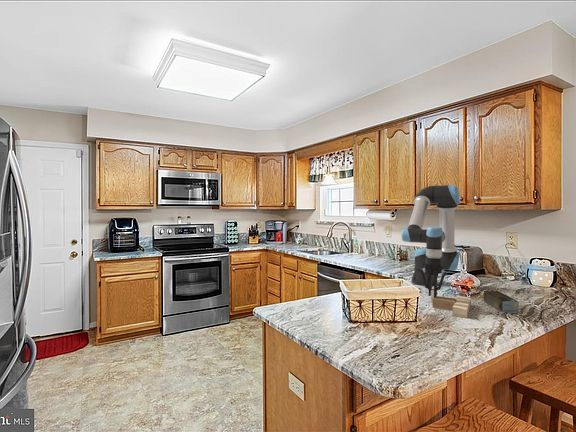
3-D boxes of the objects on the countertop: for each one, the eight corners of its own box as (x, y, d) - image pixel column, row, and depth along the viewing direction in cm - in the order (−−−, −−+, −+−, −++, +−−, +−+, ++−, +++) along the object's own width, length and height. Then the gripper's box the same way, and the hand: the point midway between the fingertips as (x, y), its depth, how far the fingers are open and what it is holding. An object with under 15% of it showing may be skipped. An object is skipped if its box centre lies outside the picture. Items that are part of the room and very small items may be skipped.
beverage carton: (501, 313, 163) (502, 299, 162) (482, 301, 182) (482, 289, 182) (519, 313, 162) (519, 300, 162) (497, 302, 181) (498, 290, 181)
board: (457, 303, 178) (458, 295, 177) (470, 305, 174) (470, 297, 174) (452, 315, 157) (452, 307, 157) (466, 318, 154) (467, 309, 154)
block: (434, 304, 176) (434, 295, 176) (456, 307, 170) (456, 298, 170) (432, 307, 170) (432, 298, 170) (454, 311, 164) (454, 301, 164)
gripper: (419, 256, 173) (417, 302, 174) (446, 259, 166) (445, 306, 167) (421, 255, 180) (420, 298, 181) (448, 257, 173) (447, 302, 174)
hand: (432, 302), depth 174 cm, fingers closed
